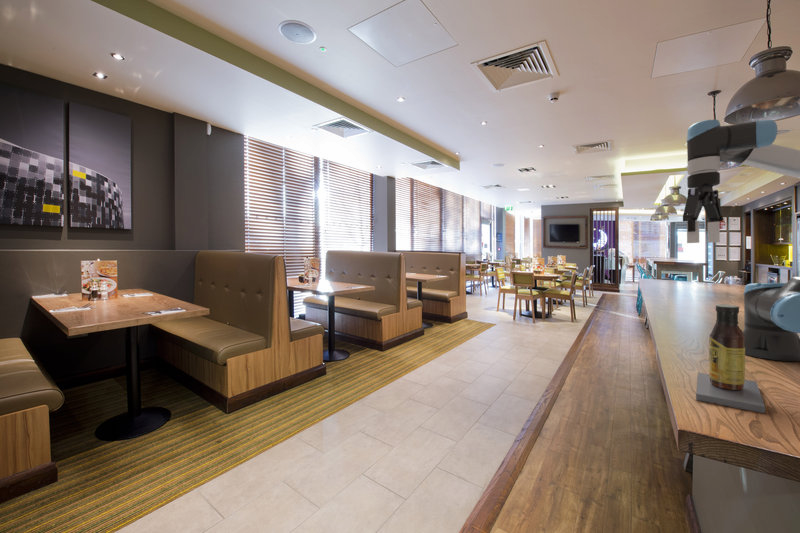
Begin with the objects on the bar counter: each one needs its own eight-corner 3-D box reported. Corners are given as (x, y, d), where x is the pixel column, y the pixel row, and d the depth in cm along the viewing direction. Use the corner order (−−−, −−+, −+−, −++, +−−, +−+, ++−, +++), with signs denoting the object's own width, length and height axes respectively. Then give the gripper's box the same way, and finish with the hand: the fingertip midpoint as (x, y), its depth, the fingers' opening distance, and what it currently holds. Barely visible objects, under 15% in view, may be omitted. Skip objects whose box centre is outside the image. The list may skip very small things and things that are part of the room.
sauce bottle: (708, 380, 88) (708, 302, 87) (742, 385, 84) (742, 304, 83) (710, 388, 83) (710, 306, 82) (747, 394, 79) (747, 307, 78)
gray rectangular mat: (697, 377, 93) (697, 372, 93) (756, 387, 86) (756, 381, 86) (696, 400, 80) (696, 393, 80) (764, 413, 73) (764, 406, 72)
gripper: (706, 179, 115) (706, 242, 116) (668, 173, 103) (668, 243, 104) (736, 174, 108) (736, 241, 109) (699, 167, 97) (699, 242, 97)
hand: (703, 242), depth 107 cm, fingers open, 13 cm apart
